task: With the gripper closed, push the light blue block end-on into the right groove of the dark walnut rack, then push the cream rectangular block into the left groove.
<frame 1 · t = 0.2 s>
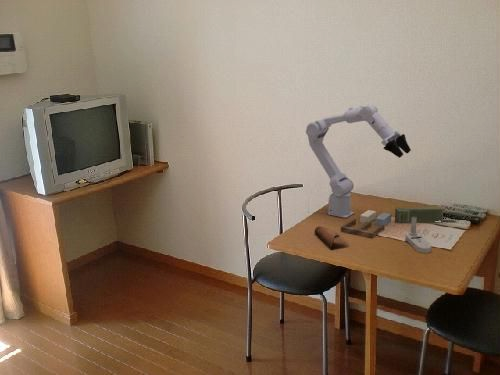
hand: (405, 154, 218), 31 cm above the table, tool tilted 45°, fingers open, 7 cm apart
handheld radio: (425, 222, 230), on the table
rack: (363, 229, 224), on the table
light blue block: (383, 223, 230), on the table
electronic device: (417, 246, 206), on the table
cream rectangular block: (368, 220, 234), on the table
sunglasses case: (332, 241, 215), on the table
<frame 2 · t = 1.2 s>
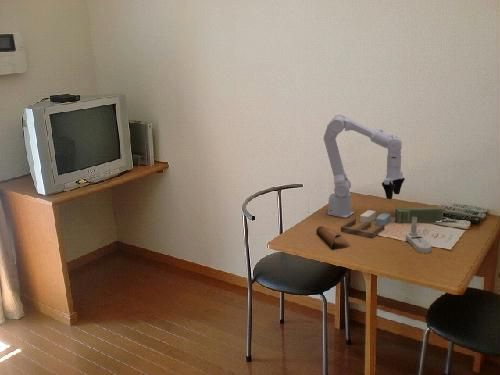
hand: (392, 196, 234), 9 cm above the table, tool pointing down, fingers open, 7 cm apart
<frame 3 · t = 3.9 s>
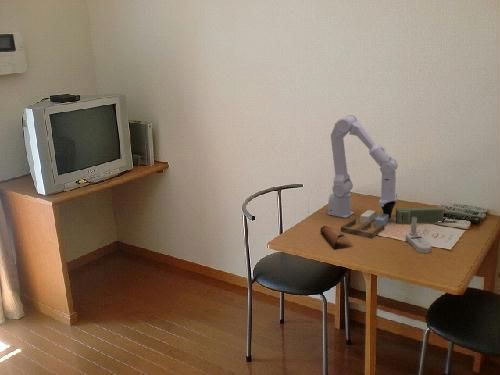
hand: (387, 217, 233), 1 cm above the table, tool pointing down, fingers closed
light blue block: (381, 224, 229), on the table, touching gripper
sunglasses case: (336, 241, 215), on the table
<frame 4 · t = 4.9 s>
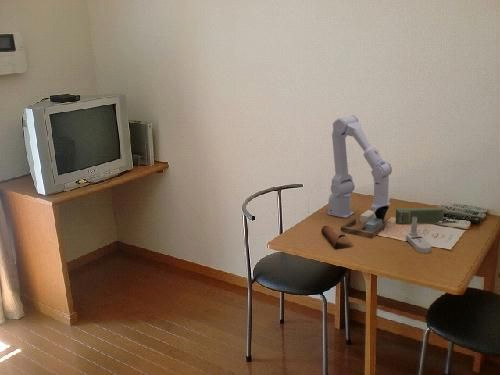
hand: (380, 222, 227), 1 cm above the table, tool pointing down, fingers closed
light blue block: (373, 229, 224), on the table, touching gripper
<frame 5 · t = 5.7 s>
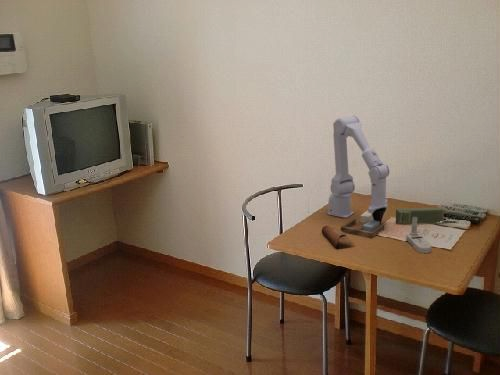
hand: (377, 224, 226), 1 cm above the table, tool pointing down, fingers closed
light blue block: (371, 231, 222), on the table
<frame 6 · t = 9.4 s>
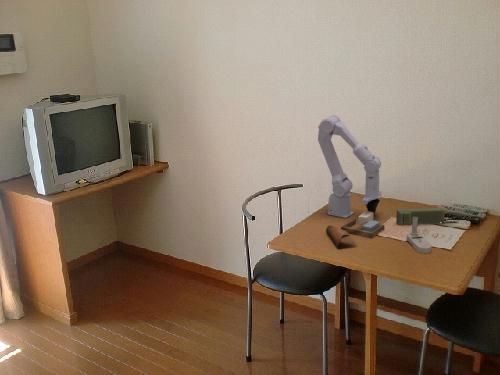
hand: (371, 215, 236), 1 cm above the table, tool pointing down, fingers closed
cream rectangular block: (366, 221, 233), on the table
sunglasses case: (341, 241, 215), on the table
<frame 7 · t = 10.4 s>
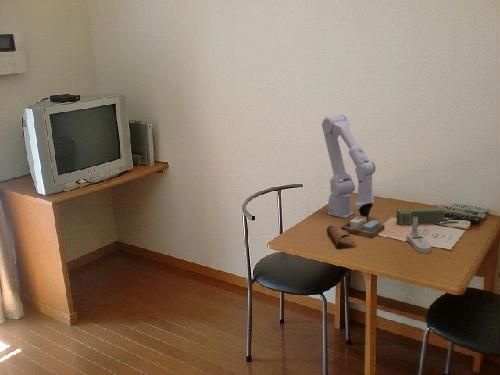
hand: (364, 220, 231), 1 cm above the table, tool pointing down, fingers closed
cream rectangular block: (358, 226, 228), on the table, touching gripper
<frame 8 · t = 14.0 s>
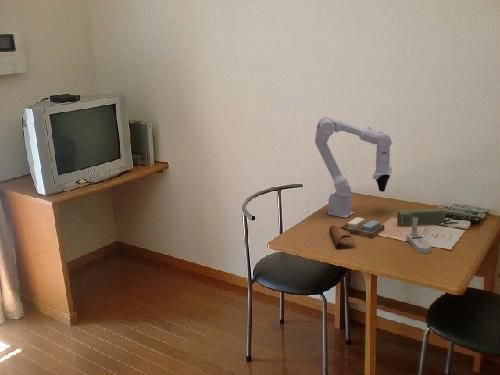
hand: (381, 191, 239), 10 cm above the table, tool pointing down, fingers closed
cream rectangular block: (356, 228, 226), on the table
at the end: light blue block inside the target area (1.2 cm from its centre), on the table; cream rectangular block inside the target area (1.1 cm from its centre), on the table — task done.
